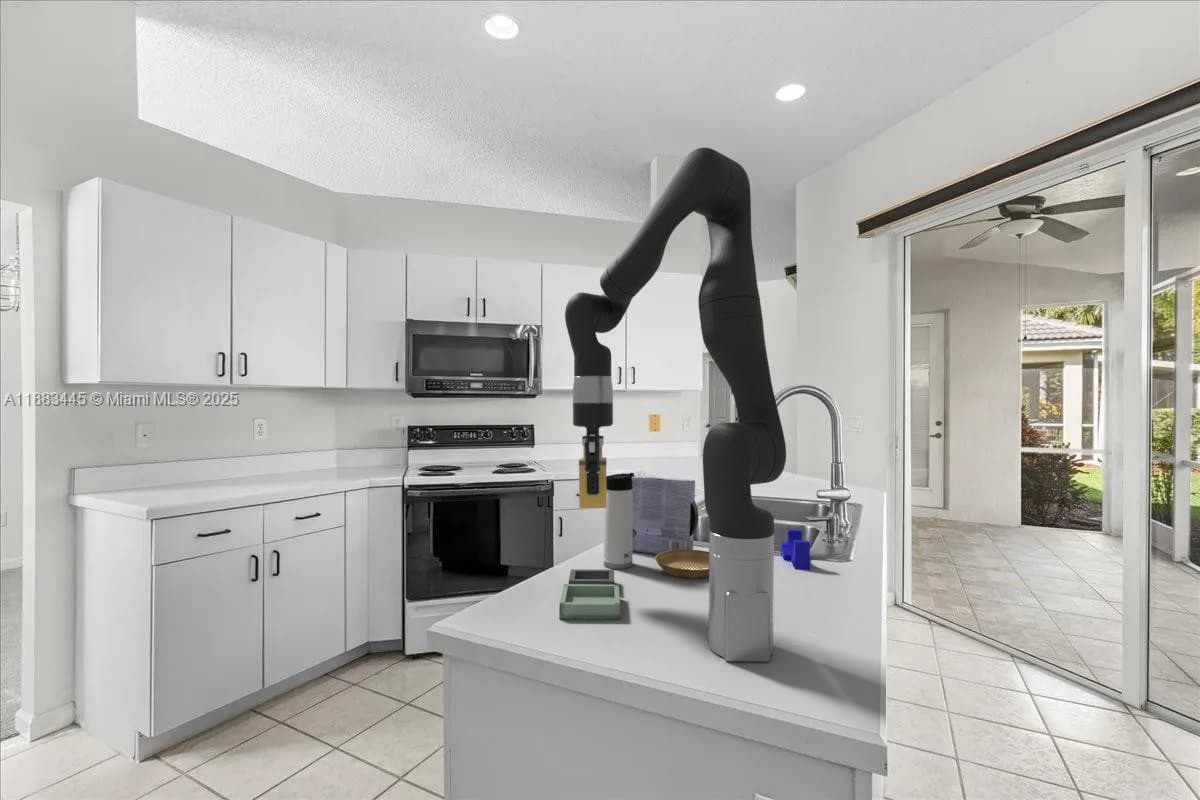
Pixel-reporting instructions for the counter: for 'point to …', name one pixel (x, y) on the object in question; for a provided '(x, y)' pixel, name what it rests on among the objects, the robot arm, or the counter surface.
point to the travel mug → (618, 521)
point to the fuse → (585, 498)
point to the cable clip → (796, 550)
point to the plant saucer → (684, 562)
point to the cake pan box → (663, 514)
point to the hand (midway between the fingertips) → (593, 492)
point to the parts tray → (590, 602)
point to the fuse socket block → (591, 576)
